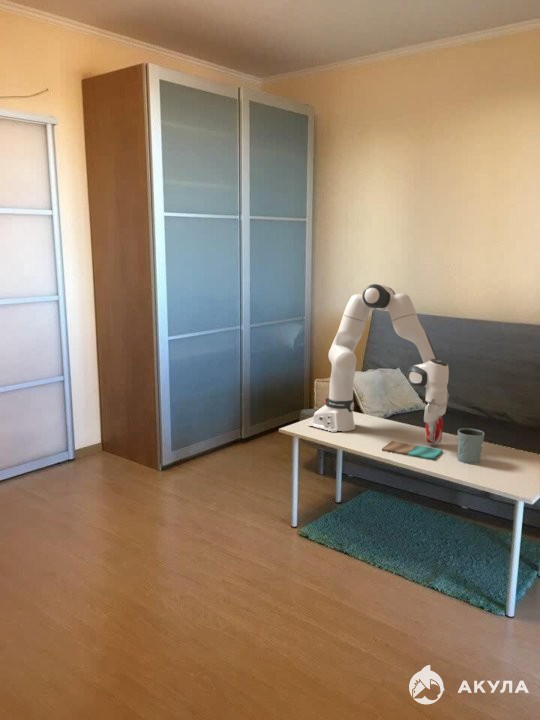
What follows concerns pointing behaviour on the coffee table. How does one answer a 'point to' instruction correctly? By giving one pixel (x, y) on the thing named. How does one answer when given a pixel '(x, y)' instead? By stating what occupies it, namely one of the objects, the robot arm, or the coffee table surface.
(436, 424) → the soda can
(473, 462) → the grey green plant pot
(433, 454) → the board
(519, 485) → the coffee table surface
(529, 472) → the coffee table surface
